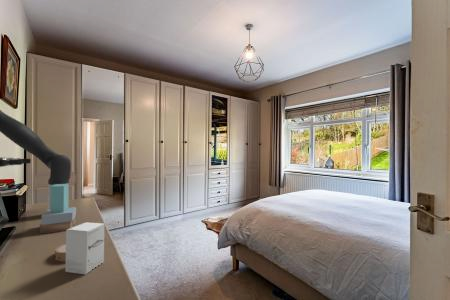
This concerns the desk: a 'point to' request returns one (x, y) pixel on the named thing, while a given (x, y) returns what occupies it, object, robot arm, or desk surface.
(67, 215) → the tower top
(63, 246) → the alarm clock
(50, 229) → the block
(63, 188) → the teal block
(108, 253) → the desk surface
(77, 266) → the supplement box
